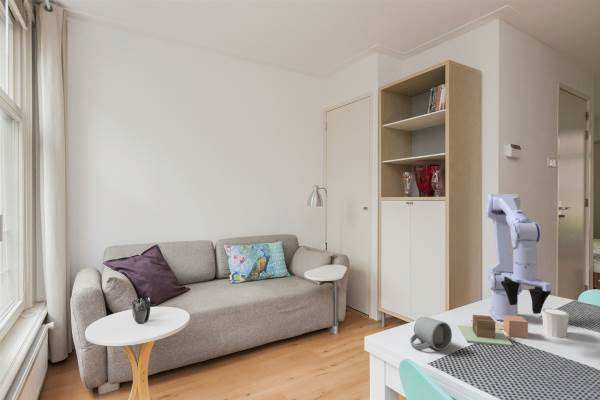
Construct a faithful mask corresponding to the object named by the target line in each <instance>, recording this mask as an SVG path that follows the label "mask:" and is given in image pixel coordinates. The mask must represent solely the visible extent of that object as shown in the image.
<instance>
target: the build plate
mask: <svg viewBox="0 0 600 400" xmlns="http://www.w3.org/2000/svg"><path fill="white" fill-rule="evenodd" d="M457 327H458V329H459V331H460V333H461V334H462V336H463V338H464V339H465V341H466V342H467V343H471V344H483V345H491V346H492V345H493V346H504V347H514V344H513V343H512V342H511V340H509V339H508V337H507V336H506V335H505V334H504V332H502V330H501V329H496V328H495V338H484V337H477V336H476V335H475V333H474V332H473V325H471V326H469V325H458V326H457Z"/></svg>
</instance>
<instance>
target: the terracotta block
mask: <svg viewBox="0 0 600 400" xmlns="http://www.w3.org/2000/svg"><path fill="white" fill-rule="evenodd" d="M503 326H504V330H503V331H504V332H505V333H506V335H507V336H508V337H510V338H522V339H528V338H529V321H527V319H525V318H524V317H523V316H521V315H518V316H510V315H504V321H503Z"/></svg>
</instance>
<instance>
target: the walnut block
mask: <svg viewBox="0 0 600 400" xmlns="http://www.w3.org/2000/svg"><path fill="white" fill-rule="evenodd" d="M491 316H492V315H491ZM491 316H490V315H481V314H472V320H473V323H472V327H473V332H474V333H475V335H476V336H477V337H484V338H495V322H496V321H495V320H494V319H493V317H491Z"/></svg>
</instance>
